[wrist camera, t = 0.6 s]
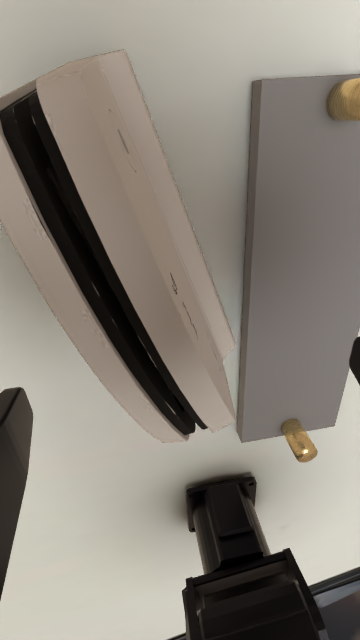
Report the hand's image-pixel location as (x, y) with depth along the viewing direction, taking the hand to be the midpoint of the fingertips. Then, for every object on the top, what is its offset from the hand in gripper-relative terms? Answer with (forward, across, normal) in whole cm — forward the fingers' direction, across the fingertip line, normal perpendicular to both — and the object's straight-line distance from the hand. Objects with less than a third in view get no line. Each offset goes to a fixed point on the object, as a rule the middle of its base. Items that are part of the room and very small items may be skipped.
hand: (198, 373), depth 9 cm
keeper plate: (+12, -9, +5) cm, 16 cm away
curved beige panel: (+12, 0, 0) cm, 12 cm away
